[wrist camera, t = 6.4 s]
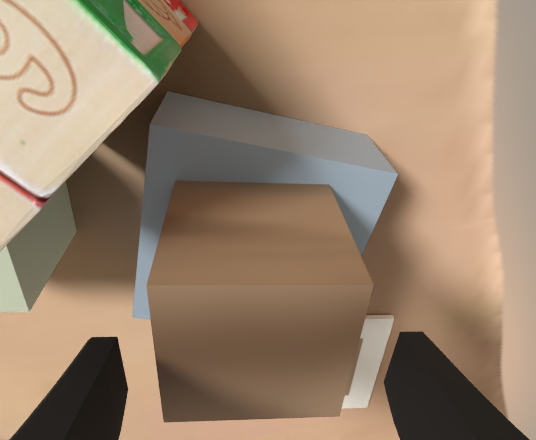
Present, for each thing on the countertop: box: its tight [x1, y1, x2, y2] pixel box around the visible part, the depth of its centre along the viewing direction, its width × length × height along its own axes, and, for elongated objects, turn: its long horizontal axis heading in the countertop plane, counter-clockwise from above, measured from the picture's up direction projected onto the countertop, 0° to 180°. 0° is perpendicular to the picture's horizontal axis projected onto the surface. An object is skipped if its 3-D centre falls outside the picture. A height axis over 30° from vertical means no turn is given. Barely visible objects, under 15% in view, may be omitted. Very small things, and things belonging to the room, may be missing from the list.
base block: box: [132, 91, 398, 320], centre depth 16 cm, size 8×8×4 cm
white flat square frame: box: [342, 315, 394, 408], centre depth 23 cm, size 8×8×1 cm
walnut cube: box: [146, 181, 374, 422], centre depth 12 cm, size 5×5×5 cm
